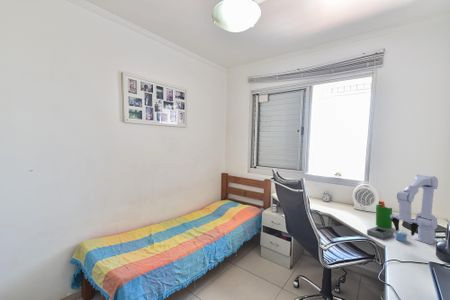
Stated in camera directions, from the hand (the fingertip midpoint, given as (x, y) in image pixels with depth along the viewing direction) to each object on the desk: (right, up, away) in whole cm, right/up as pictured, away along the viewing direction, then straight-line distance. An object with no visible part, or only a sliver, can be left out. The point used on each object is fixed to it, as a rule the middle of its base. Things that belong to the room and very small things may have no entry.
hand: (404, 232), depth 123 cm
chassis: (0, -9, +19) cm, 21 cm away
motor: (+14, -9, +34) cm, 38 cm away
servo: (+7, -10, +11) cm, 16 cm away
